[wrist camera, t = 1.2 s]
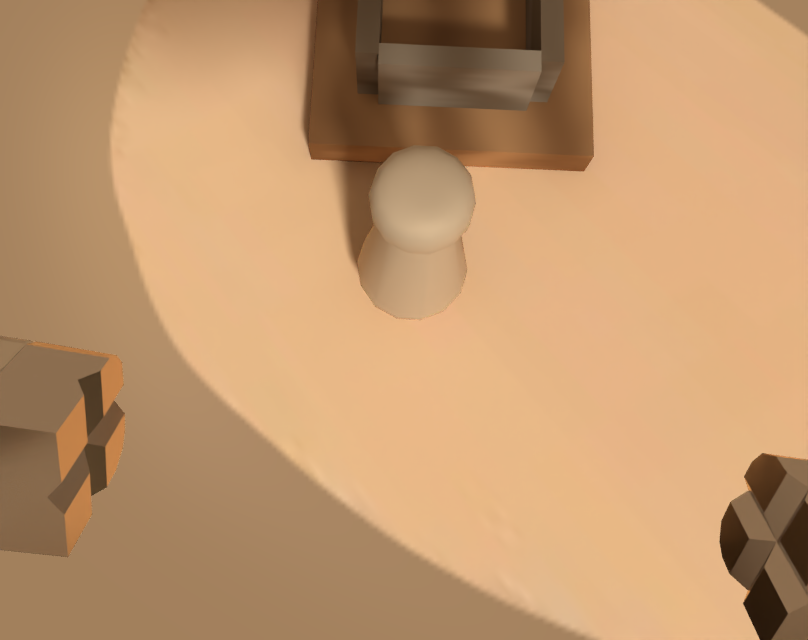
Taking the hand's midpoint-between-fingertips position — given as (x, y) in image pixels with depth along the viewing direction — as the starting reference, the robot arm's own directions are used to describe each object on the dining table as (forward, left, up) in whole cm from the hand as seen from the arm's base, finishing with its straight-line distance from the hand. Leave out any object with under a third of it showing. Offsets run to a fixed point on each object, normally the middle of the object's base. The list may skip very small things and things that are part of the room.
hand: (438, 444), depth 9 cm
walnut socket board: (-2, -26, -30) cm, 39 cm away
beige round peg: (0, -11, -30) cm, 32 cm away
